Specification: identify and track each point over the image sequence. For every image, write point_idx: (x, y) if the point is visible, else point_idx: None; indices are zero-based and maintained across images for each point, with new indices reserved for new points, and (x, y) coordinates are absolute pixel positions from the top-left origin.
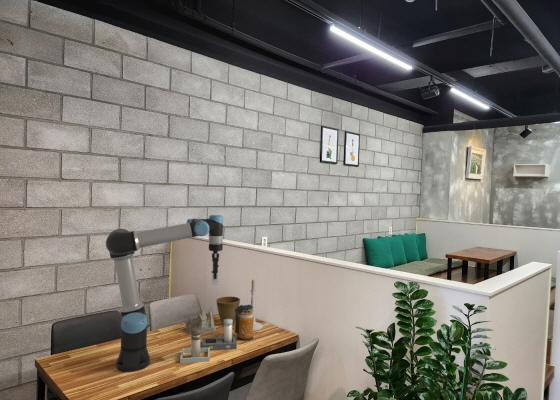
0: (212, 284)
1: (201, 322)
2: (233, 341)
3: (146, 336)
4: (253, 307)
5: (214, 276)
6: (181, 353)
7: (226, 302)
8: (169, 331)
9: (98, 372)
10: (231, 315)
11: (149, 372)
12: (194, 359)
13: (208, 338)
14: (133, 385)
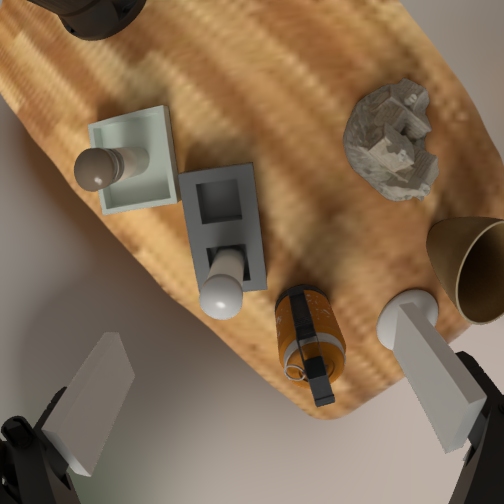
0: (103, 336)
1: (367, 147)
2: None
3: (62, 3)
4: None
5: (50, 413)
6: (124, 115)
7: None
8: (383, 30)
9: None
10: (436, 270)
11: (61, 62)
12: None
13: (245, 189)
14: (15, 62)
